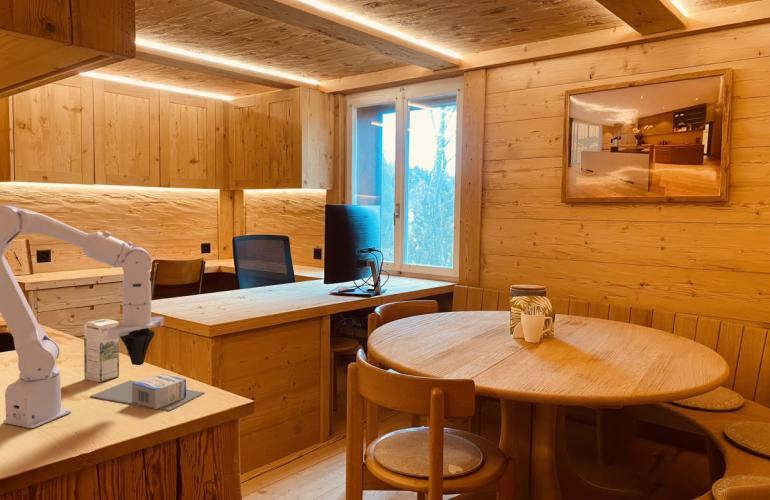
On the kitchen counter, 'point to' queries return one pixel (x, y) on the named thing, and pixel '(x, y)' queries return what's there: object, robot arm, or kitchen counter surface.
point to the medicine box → (158, 391)
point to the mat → (124, 395)
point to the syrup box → (100, 351)
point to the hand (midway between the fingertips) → (137, 364)
